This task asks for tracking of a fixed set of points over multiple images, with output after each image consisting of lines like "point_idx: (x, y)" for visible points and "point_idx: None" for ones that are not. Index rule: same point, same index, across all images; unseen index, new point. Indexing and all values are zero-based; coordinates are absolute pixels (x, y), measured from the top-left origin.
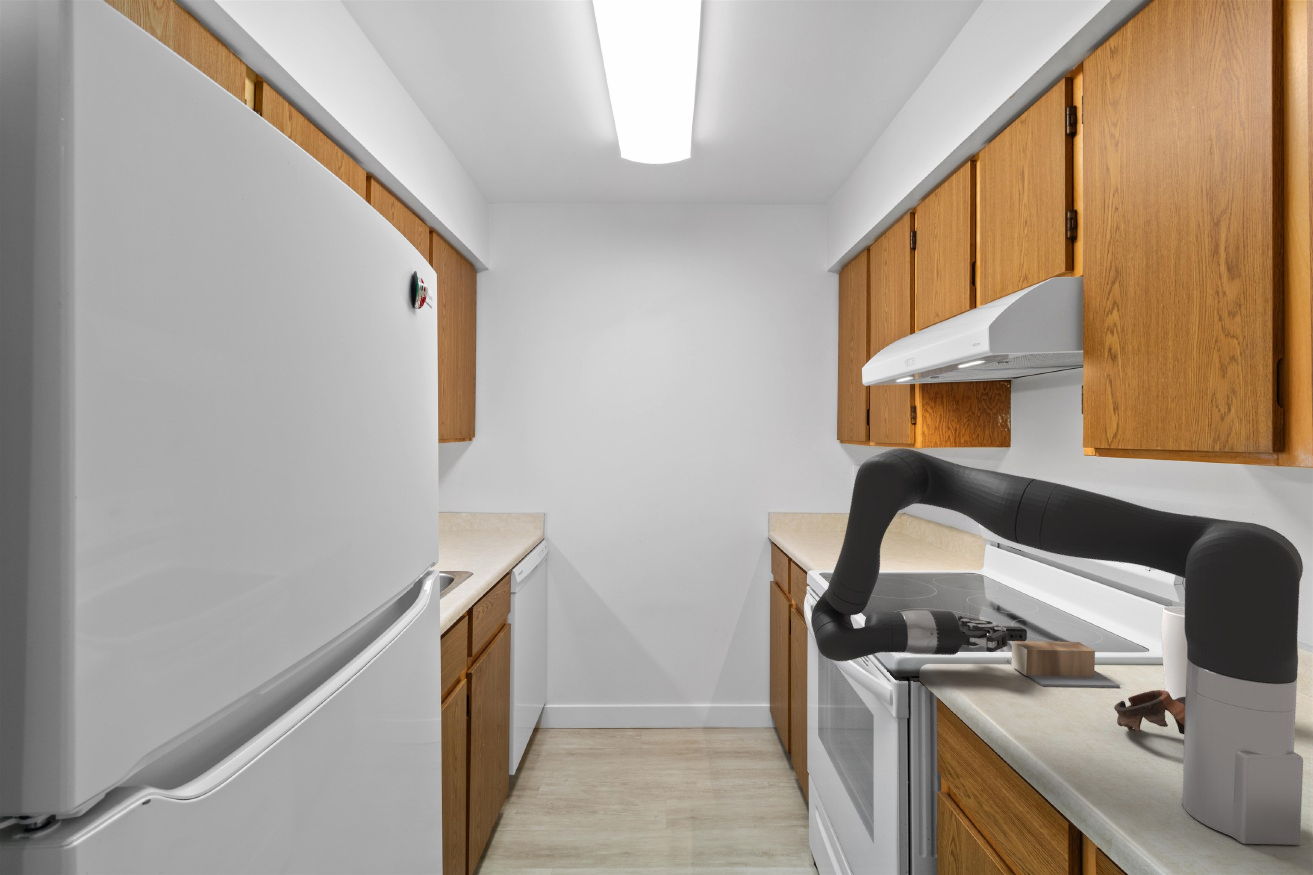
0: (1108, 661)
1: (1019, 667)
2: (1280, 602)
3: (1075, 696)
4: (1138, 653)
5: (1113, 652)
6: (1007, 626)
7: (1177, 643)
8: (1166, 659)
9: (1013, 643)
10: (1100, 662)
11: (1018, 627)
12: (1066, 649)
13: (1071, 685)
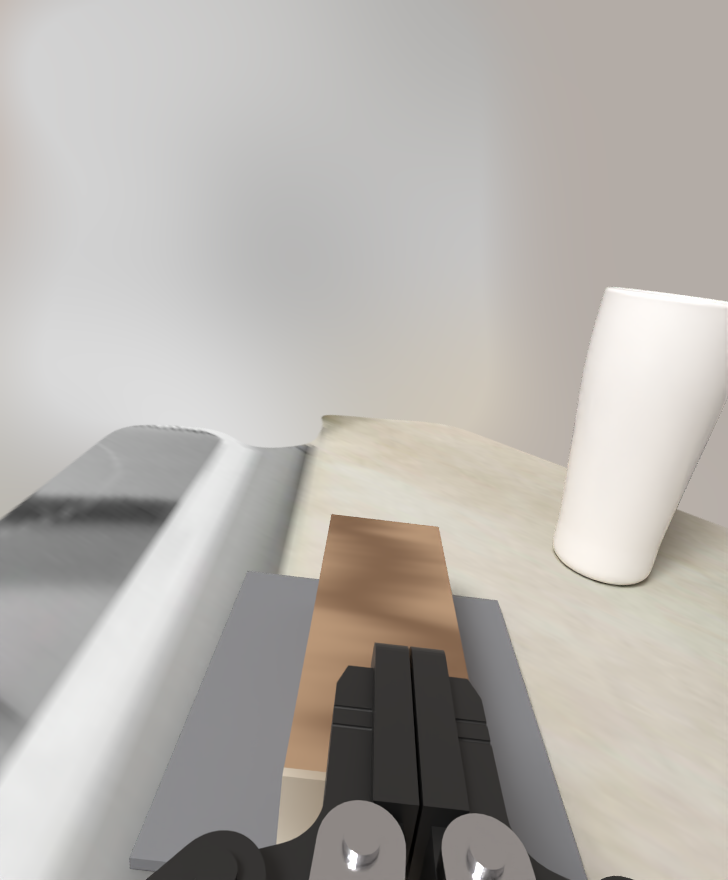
0: (266, 516)
1: None
2: None
3: (679, 817)
4: (227, 453)
5: (204, 477)
6: (379, 746)
7: (713, 405)
8: (657, 465)
9: (302, 788)
10: (270, 533)
11: (410, 674)
12: (438, 592)
13: (544, 750)
